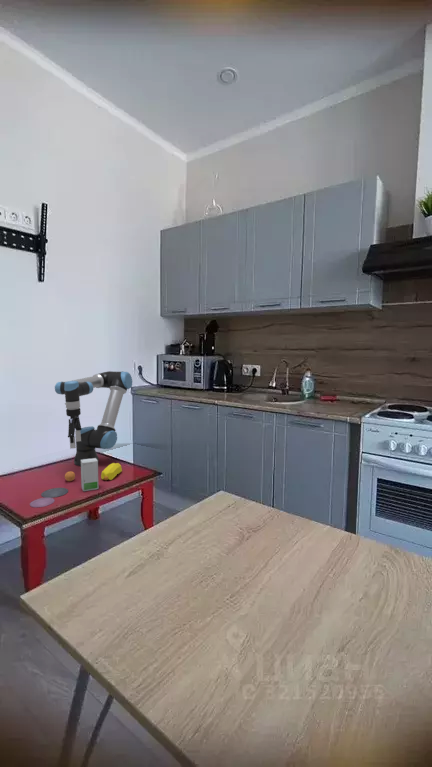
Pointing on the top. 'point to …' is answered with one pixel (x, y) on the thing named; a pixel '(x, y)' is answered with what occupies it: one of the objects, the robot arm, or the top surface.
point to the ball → (70, 476)
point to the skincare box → (89, 474)
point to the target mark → (54, 492)
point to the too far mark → (42, 502)
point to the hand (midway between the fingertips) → (75, 444)
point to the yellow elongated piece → (111, 471)
